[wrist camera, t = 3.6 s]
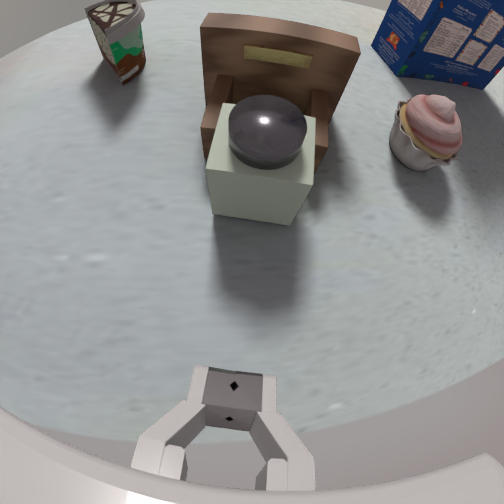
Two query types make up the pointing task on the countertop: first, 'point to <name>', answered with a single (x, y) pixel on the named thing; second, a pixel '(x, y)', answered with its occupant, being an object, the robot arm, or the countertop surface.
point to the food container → (119, 35)
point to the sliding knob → (261, 160)
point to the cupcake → (426, 132)
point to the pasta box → (443, 40)
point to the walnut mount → (274, 68)
